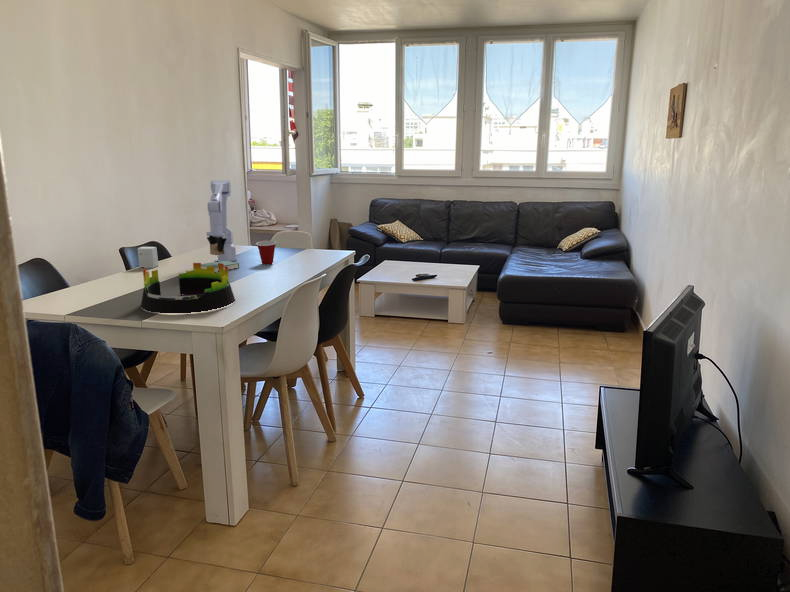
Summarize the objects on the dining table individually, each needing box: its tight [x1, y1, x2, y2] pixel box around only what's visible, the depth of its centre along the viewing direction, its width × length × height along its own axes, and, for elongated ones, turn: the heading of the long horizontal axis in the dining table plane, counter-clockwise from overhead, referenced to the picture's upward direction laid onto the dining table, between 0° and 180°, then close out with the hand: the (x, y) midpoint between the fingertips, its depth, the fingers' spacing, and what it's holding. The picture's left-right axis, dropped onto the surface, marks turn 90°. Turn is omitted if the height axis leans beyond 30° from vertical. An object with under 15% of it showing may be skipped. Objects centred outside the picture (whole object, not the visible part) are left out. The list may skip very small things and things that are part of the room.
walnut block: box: [209, 243, 224, 256], centre depth 318 cm, size 5×5×5 cm
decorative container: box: [140, 262, 236, 313], centre depth 249 cm, size 37×37×15 cm
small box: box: [137, 246, 159, 269], centre depth 322 cm, size 8×6×10 cm
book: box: [201, 260, 240, 273], centre depth 320 cm, size 16×12×3 cm
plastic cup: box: [255, 240, 277, 265], centre depth 333 cm, size 11×11×12 cm
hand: (217, 251), depth 318 cm, fingers closed on walnut block, 5 cm apart
